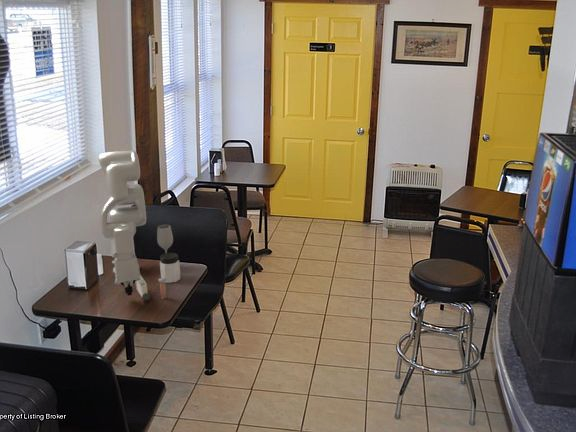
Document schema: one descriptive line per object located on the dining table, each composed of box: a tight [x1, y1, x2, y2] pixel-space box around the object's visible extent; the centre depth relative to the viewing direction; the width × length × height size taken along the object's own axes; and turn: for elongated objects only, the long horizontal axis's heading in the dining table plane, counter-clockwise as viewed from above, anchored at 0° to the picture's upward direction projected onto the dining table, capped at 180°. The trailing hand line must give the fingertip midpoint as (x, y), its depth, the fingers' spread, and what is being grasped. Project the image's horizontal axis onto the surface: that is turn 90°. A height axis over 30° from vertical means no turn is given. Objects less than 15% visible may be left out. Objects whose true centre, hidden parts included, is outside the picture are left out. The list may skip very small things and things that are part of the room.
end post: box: [157, 277, 168, 300], centre depth 278 cm, size 3×3×9 cm
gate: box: [134, 274, 151, 302], centre depth 282 cm, size 16×3×8 cm, turn 26°
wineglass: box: [156, 224, 174, 253], centre depth 311 cm, size 8×8×21 cm
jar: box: [159, 252, 181, 284], centre depth 297 cm, size 9×8×12 cm
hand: (129, 294), depth 277 cm, fingers closed
